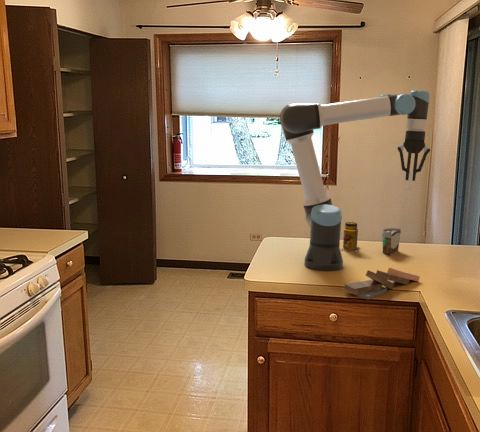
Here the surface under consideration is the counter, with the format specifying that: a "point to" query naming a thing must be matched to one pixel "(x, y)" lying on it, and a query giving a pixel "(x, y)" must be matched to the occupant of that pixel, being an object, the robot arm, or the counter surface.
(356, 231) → the condiment
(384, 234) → the food container
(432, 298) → the counter surface
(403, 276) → the domino
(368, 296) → the domino
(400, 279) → the domino
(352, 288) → the domino
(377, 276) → the domino
